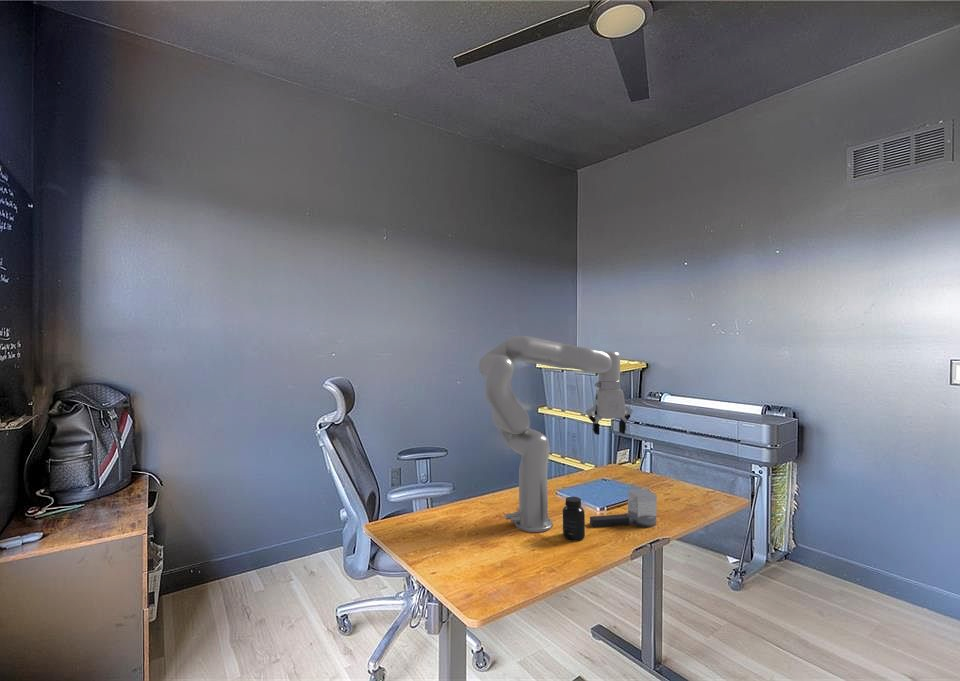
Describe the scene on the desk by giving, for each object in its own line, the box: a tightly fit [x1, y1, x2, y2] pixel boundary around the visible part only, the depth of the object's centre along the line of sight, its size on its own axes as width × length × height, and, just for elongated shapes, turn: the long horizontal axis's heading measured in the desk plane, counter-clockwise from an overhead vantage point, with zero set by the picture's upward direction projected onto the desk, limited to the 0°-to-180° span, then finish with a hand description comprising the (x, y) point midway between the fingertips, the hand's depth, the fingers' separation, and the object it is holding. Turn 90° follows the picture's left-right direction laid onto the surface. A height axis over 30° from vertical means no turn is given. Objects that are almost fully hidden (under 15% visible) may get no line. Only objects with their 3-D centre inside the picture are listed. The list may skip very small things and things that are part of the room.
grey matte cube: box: [627, 488, 658, 518], centre depth 155 cm, size 7×7×7 cm
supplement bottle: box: [562, 496, 586, 542], centre depth 144 cm, size 7×7×12 cm
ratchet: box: [589, 510, 657, 528], centre depth 154 cm, size 22×9×8 cm, turn 99°
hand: (609, 433), depth 164 cm, fingers open, 9 cm apart
